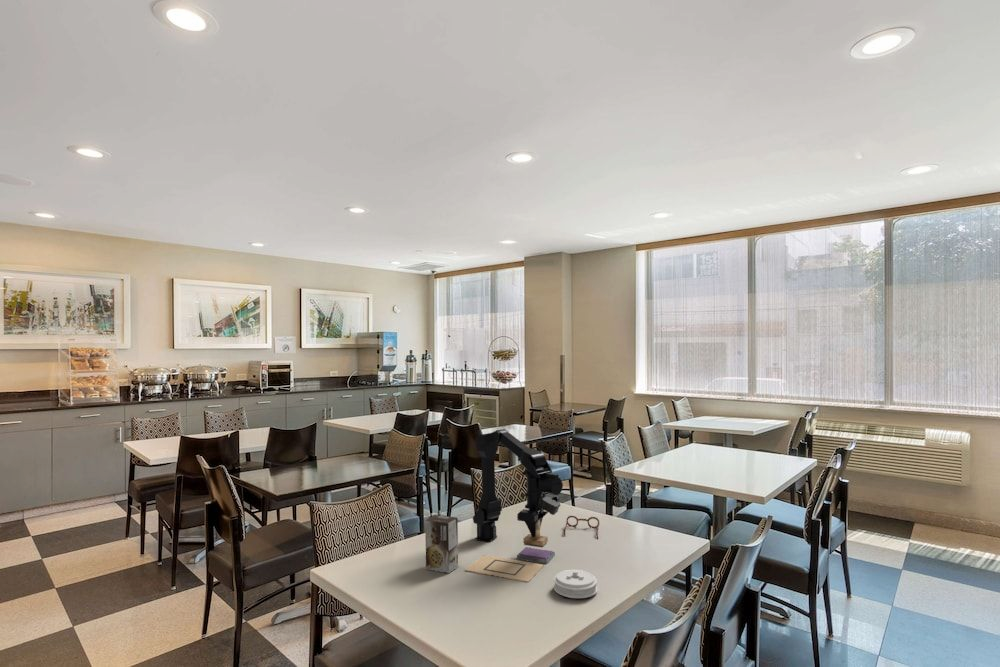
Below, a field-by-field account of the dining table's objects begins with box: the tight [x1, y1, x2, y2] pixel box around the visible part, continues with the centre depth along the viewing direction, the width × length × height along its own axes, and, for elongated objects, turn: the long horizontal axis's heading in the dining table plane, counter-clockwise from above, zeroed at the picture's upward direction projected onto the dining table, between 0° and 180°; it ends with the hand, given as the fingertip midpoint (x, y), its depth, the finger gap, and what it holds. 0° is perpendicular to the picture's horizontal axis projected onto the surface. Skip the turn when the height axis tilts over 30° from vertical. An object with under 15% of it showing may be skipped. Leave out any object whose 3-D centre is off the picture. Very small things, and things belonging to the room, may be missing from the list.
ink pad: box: [516, 547, 556, 564], centre depth 183 cm, size 11×8×2 cm
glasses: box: [563, 515, 600, 539], centre depth 209 cm, size 13×13×5 cm
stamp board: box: [464, 554, 545, 583], centre depth 174 cm, size 22×14×1 cm, turn 66°
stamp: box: [522, 520, 549, 548], centre depth 184 cm, size 7×5×8 cm
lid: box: [553, 569, 598, 599], centre depth 157 cm, size 13×13×5 cm
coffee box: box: [424, 514, 459, 574], centre depth 175 cm, size 9×6×16 cm
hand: (535, 535), depth 184 cm, fingers closed on stamp, 3 cm apart
